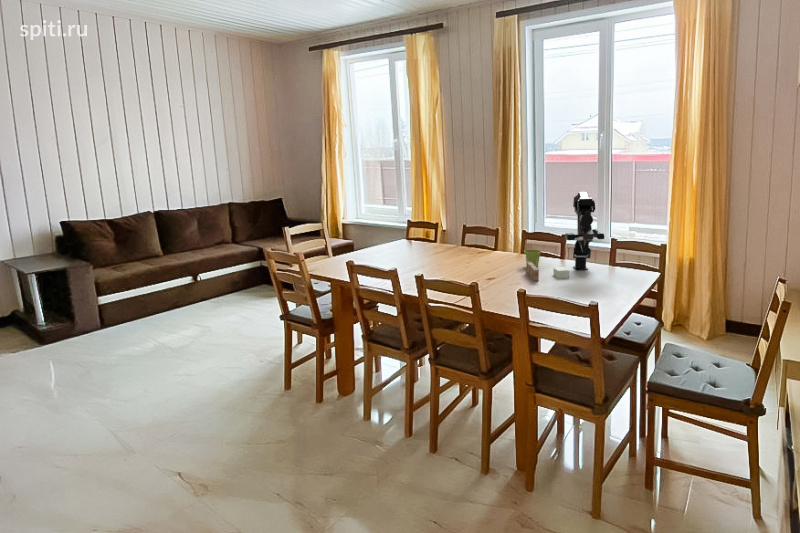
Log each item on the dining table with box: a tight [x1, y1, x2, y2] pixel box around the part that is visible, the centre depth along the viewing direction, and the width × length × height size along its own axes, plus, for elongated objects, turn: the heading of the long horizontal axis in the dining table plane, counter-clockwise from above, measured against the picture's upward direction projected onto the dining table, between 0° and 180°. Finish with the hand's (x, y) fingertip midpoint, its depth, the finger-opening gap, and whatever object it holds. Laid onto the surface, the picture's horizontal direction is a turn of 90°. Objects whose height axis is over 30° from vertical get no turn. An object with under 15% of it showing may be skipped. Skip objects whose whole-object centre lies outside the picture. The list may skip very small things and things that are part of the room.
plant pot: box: [523, 249, 542, 268], centre depth 317 cm, size 9×9×9 cm
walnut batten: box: [526, 262, 540, 282], centre depth 295 cm, size 18×2×6 cm, turn 179°
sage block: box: [553, 266, 570, 279], centre depth 295 cm, size 7×6×4 cm
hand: (583, 252), depth 293 cm, fingers closed
